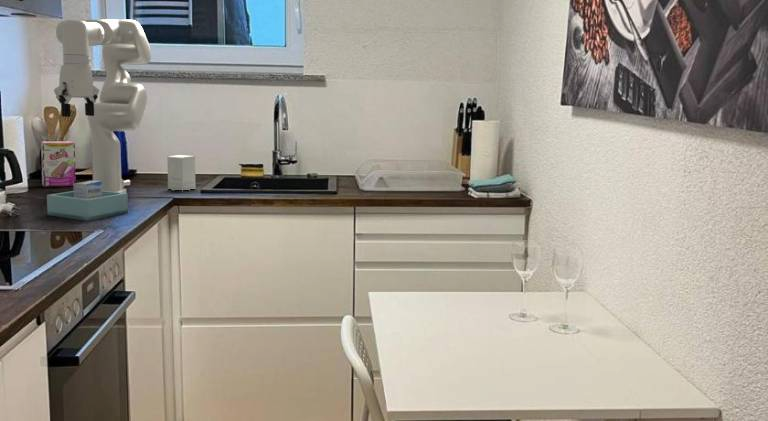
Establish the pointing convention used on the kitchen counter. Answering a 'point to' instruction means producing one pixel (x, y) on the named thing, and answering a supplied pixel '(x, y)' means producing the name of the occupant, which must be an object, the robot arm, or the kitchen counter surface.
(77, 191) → the medicine box
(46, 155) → the candy bar box
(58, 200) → the collection bin
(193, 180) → the supplement box
